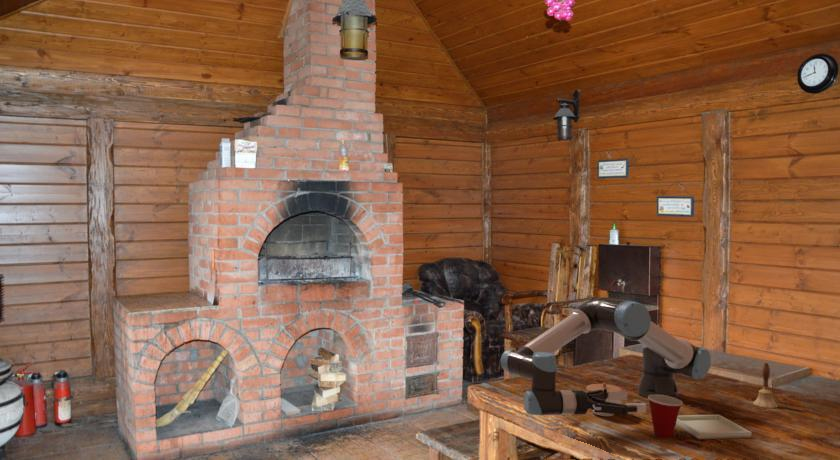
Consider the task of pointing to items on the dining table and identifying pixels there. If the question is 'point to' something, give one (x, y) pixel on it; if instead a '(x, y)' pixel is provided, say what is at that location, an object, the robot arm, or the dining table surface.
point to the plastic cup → (664, 414)
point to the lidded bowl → (609, 389)
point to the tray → (711, 427)
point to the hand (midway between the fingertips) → (636, 401)
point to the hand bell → (765, 391)
